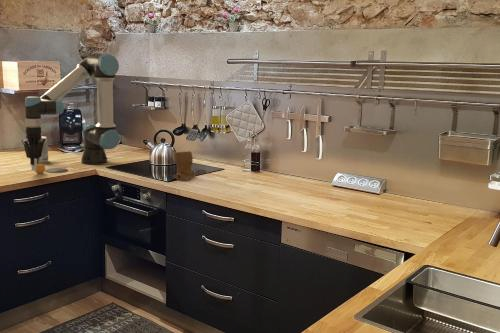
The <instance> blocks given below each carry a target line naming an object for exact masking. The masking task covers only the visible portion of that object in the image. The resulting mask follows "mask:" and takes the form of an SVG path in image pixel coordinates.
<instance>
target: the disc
mask: <svg viewBox="0 0 500 333" xmlns="http://www.w3.org/2000/svg"><path fill="white" fill-rule="evenodd" d="M68 171H69V169H67V168H64V167H54V168H53V167H52V168H51V167H50V168H47V169H46V168H45V171H44V173H45V172H46V173H48V174H49V173H50V174H58V173H59V174H61V173H65V172H68Z"/></svg>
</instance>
